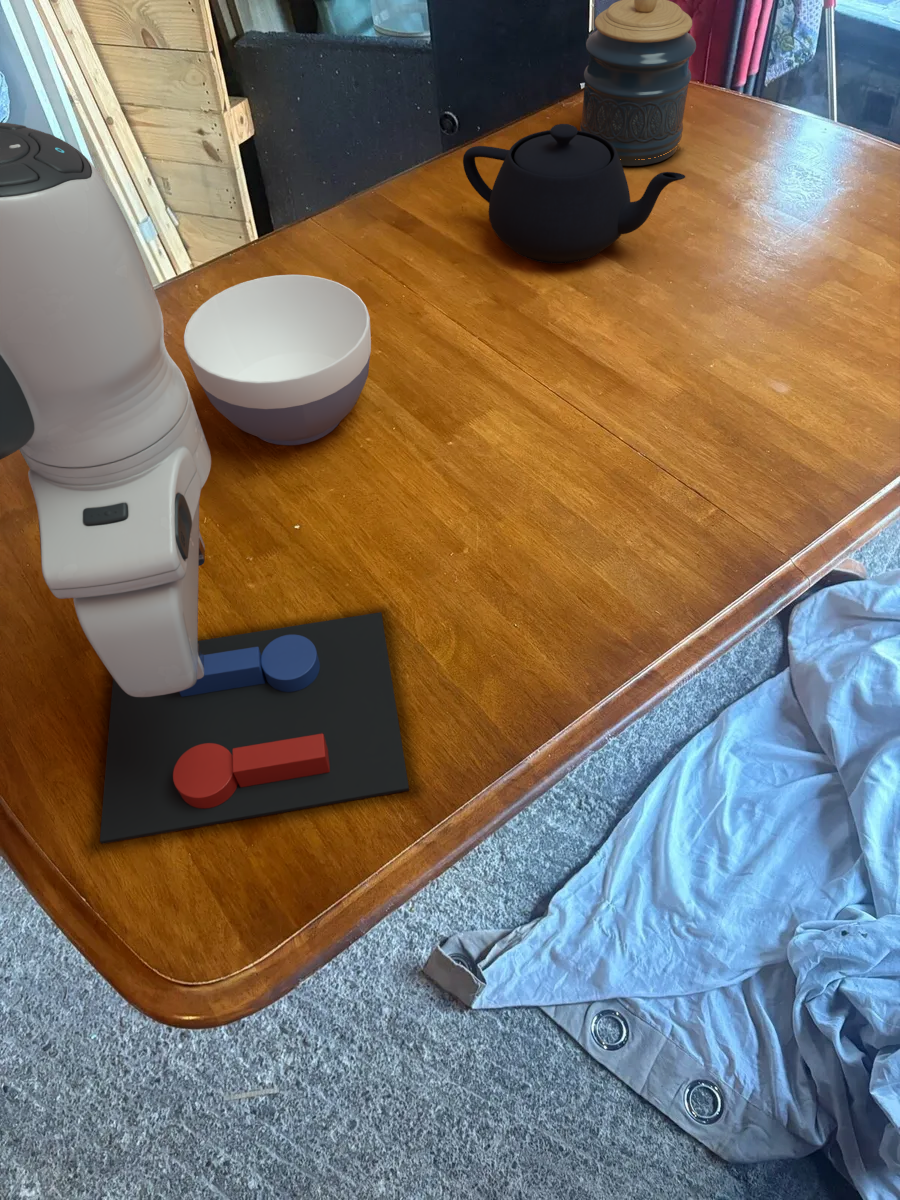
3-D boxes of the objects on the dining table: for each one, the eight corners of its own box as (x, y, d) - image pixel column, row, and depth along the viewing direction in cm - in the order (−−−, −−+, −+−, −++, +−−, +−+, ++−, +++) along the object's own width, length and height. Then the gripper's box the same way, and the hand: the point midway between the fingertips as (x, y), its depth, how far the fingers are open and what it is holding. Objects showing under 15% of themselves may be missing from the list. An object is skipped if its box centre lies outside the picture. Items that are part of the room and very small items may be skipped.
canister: (628, 114, 121) (645, -40, 107) (701, 146, 114) (729, -14, 101) (557, 144, 116) (566, -14, 103) (629, 179, 110) (649, 16, 96)
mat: (101, 844, 57) (99, 841, 57) (116, 656, 66) (114, 653, 66) (409, 790, 59) (408, 788, 58) (381, 615, 68) (381, 611, 68)
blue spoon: (181, 710, 63) (172, 693, 61) (182, 664, 65) (173, 647, 64) (322, 687, 64) (317, 669, 62) (317, 643, 66) (313, 625, 64)
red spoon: (326, 735, 61) (322, 718, 59) (331, 787, 59) (327, 771, 57) (179, 759, 60) (170, 743, 59) (178, 813, 58) (169, 798, 56)
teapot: (435, 251, 101) (429, 139, 91) (494, 189, 109) (494, 81, 100) (646, 301, 93) (663, 185, 83) (692, 231, 101) (712, 118, 92)
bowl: (299, 496, 77) (278, 408, 69) (175, 427, 83) (143, 339, 76) (414, 399, 84) (407, 310, 77) (293, 343, 91) (275, 255, 83)
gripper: (78, 346, 54) (150, 508, 64) (37, 607, 41) (135, 755, 52) (184, 331, 54) (237, 494, 65) (175, 585, 41) (244, 736, 52)
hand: (192, 612), depth 58 cm, fingers open, 8 cm apart
